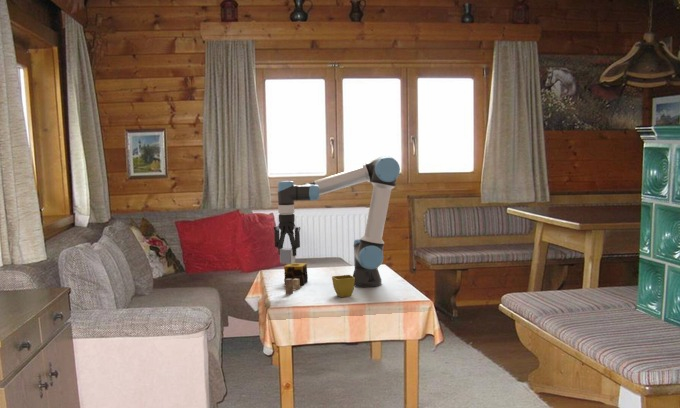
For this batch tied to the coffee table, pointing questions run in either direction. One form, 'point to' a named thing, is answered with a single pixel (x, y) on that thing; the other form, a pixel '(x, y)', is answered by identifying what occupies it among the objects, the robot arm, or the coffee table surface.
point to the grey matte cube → (285, 256)
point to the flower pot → (343, 285)
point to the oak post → (296, 284)
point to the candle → (296, 272)
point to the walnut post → (289, 286)
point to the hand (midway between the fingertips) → (287, 262)
